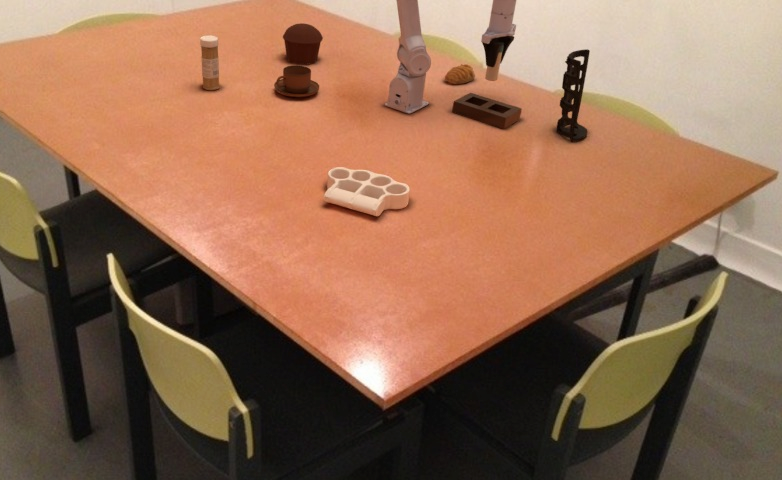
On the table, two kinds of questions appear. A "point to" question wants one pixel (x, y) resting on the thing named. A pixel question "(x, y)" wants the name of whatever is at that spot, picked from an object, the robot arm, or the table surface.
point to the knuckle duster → (365, 191)
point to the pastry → (460, 74)
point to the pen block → (487, 110)
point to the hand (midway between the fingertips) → (493, 64)
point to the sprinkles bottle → (210, 62)
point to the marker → (494, 68)
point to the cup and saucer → (296, 82)
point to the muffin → (302, 43)
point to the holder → (573, 96)
